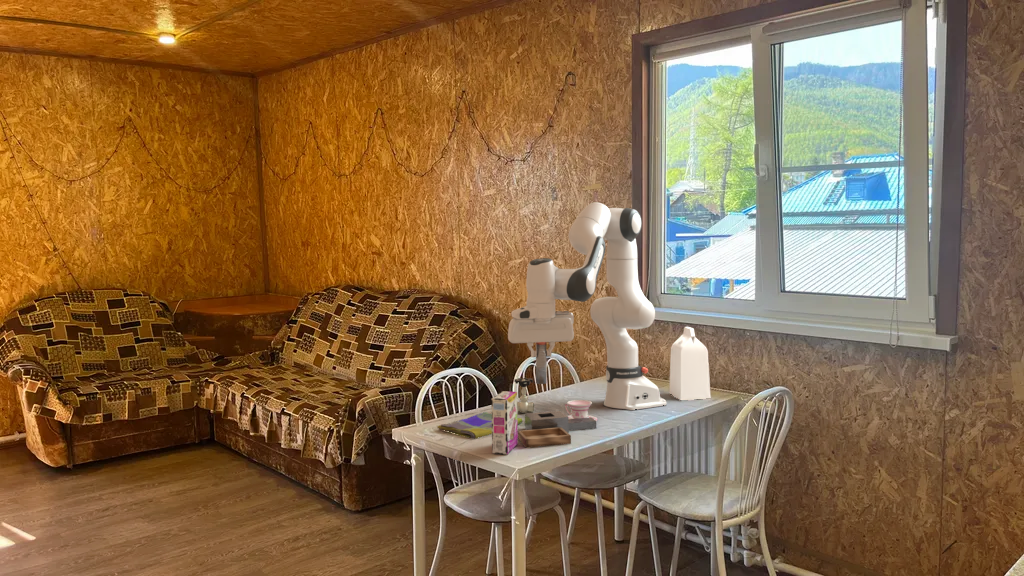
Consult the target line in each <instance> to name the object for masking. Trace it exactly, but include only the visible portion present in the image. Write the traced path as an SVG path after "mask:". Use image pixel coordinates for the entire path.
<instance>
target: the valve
mask: <svg viewBox="0 0 1024 576" xmlns="http://www.w3.org/2000/svg"><path fill="white" fill-rule="evenodd" d="M513 381H514V383H515V384H516V385H517V384H519V386H520V387H521V388H522V389H521V390H520V391H521V396H519V401H517V413H522V414H525V413H535V402H534V401H529V396H527V387H528V386H530V384H531V383H533V382H534V379H533V378H531V377H529V378H527V377H523V378H521V377H518V378H517V379H516V378H514V379H513Z"/></svg>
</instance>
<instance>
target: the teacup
mask: <svg viewBox="0 0 1024 576" xmlns="http://www.w3.org/2000/svg"><path fill="white" fill-rule="evenodd" d="M592 404H593V402H592V401H591V400H585V399H575V400H574V399H573V400H568V401H567V402H566V404H564V406H565V407H564V408H565V411H566V412H567V413H568V414H569V415H567V416H568V419H577V418H587V417H592V418H593V419H595V420H596V422H598V417H596V416H594V415H589V409H590V407H591V406H592ZM568 407H569V408H570V410H571V412H570V410H568Z"/></svg>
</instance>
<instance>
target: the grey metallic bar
mask: <svg viewBox="0 0 1024 576" xmlns="http://www.w3.org/2000/svg"><path fill="white" fill-rule="evenodd" d="M546 350H547V342H535V351H537V354H536V355H537V357H535V384H538V385H545V384H547V381H548V380H547V369H548V368H547V357H546Z"/></svg>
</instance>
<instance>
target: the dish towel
mask: <svg viewBox="0 0 1024 576" xmlns="http://www.w3.org/2000/svg"><path fill="white" fill-rule="evenodd" d="M517 421H518V425H520V424H521V423H523V418H521V417H517ZM437 429H438V430H440V429H441V430H445V431H449V432H452V433H455V434H454V435H456V434H458V435H457V436H460V435H461V437H463V436H465V437H464V438H467V437H468V438H467V439H470V438H474V439H475V438H476V439H479V438H482V436H483V437H487V436H490V435H492V413H489V412H487V411H483V412H480V413H477V414H474V415H472V416H469V417H467V418H463V419H459V420H456V421H453V422H449V423H445V424H444V423H443V424H440V425H437ZM441 430H440V431H441ZM445 431H444V432H445ZM449 432H448V433H449ZM452 433H451V434H452ZM489 434H490V435H489ZM478 437H479V438H478Z"/></svg>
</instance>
